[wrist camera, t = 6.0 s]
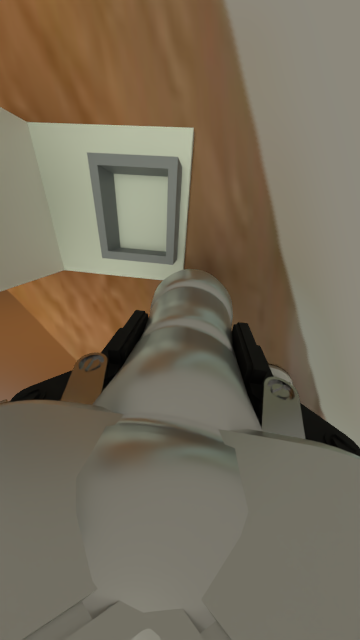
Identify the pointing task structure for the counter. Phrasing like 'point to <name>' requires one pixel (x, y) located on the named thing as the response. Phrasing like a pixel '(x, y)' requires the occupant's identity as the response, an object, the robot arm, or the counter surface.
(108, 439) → the grey tall bottle shape
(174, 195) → the socket stand
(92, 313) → the counter surface
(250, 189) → the counter surface
